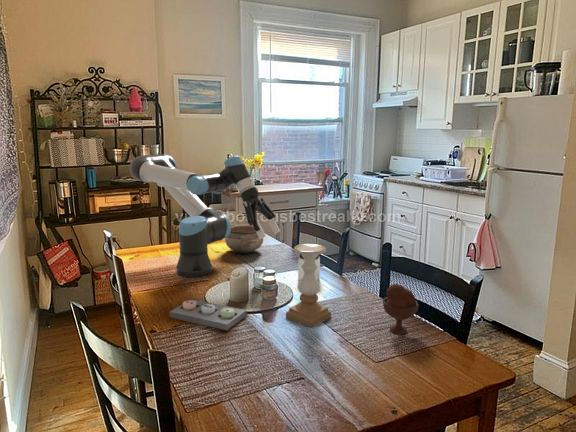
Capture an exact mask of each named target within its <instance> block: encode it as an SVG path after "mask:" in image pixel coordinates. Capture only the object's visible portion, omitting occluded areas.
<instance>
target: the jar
mask: <svg viewBox="0 0 576 432" xmlns="http://www.w3.org/2000/svg"><path fill="white" fill-rule="evenodd" d="M298 254H299V253H298ZM303 263H304V258H303V256H302V254H299V256H298V268H297V269H298V270H297V271H298V272H297V274H298V275H297V278H298V281H301V279H302V278H303V276H304V271H303V269H302V265H303ZM315 263H316V265H317V267H318V268H317V269H316V271H315V273H314V274H315V277H316V279H317V280H318V281H319V280H320V274H321V273H320V272H321V271H320V269H321V268H320V267H321V265H320V263H321V257H320V254H318V256H317V257H316V259H315Z"/></svg>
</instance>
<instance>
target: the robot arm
mask: <svg viewBox="0 0 576 432" xmlns="http://www.w3.org/2000/svg"><path fill="white" fill-rule="evenodd" d="M223 163H224V169H222V170H221V171H219V172H217V173H211V174H200V173H194V172H191V171H186V170H181V169H178V166H177V162H176V159H174V158H173V157H172V156H171V155H169V154H164V153H159V154H147V155H146V154H145V155H139V156H136V157H134V158H133V159H132V160H131V162H130V164H129V172H130V175H131V176H132V178H134V179H135V180H136V181H138V182H143V183H150V182H153V183H155V184H156V185H157V186H158V187H161V188H162V187H163V188H164V189H165V190H166V191H167V193H169V195H171V196H172V198H173V199H174V200H175V201H176V202H177V203H178V204H179V206H180V207H181V208H182V209H183V210H184V211H185V213H187V214H188V215H189V216H188V217H185V218H183V219H181V220H180V221H179V224H178V237H179V238H178V239H179V257H178V261H177V265H176V274H177V276H181V277H186V278H197V277H203V276H208V275H210V274H211V273H213V265H212V262H211V259H210V257H209V254H208V253H209V252H208V250H209V248H208V245H210V244H213V243H216V242H220V241H223V240H225V238H226V237H227V236H228V235H229V234H230V231H231V226H232V223H231V219H230V218H229V217H228V216H227V215H226V214H224V213H218V212H217V211H216V210H215V209H214V207H208V206H207V205H206V204H205V203H204V202H203V201H202V200H201V199H200V198H199V196H198V195H204V194H208V193H213V194H215V195H219V194H221V193H223V192H225V191H226V190H227V189H229V188H230V187H231V186H233V185H234V186H235V188H236V190H237V191H238V194H239V196H240V198H241V200H242V202H243V203H242V205H243V207H244V211H245V216H246V221H247V225H250V226H251V225H253V227H254V229H255V231H256V233H257V235H258V237H259V239H262V238H263V239H264V238H265V237H267V236H266V233H265V231H264V229H263V227H262V226H261V224H260V222H259V221H258V214H257V213H258V212H259V213H260V214H262V215H263V216H264V217H265V218H266V220H267V222H268V223H269V226H270V228H271V230H272V231H273V233H274V235H277V234H279V233H280V232H281V230H280V227H279V226H278V224H277V221H276V220H275V218H276V214H275V213H274V211H273V210H272V209H271V208H270V207H269V205H268V204H267V203H266V201H265V200H264V198H262V197H260V198H259V196H260V192H259V190H258V188H257V187H256V185H255V184H256V183H254V180H253V178H252V177H251V175H250V173H249V171H248V169H247V166H246V164H245V162H244V161H243V160H242V158H241V156H240V155H232V156H231V157H229V158H227V159H226V160H225V161H224V162H223Z"/></svg>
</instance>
